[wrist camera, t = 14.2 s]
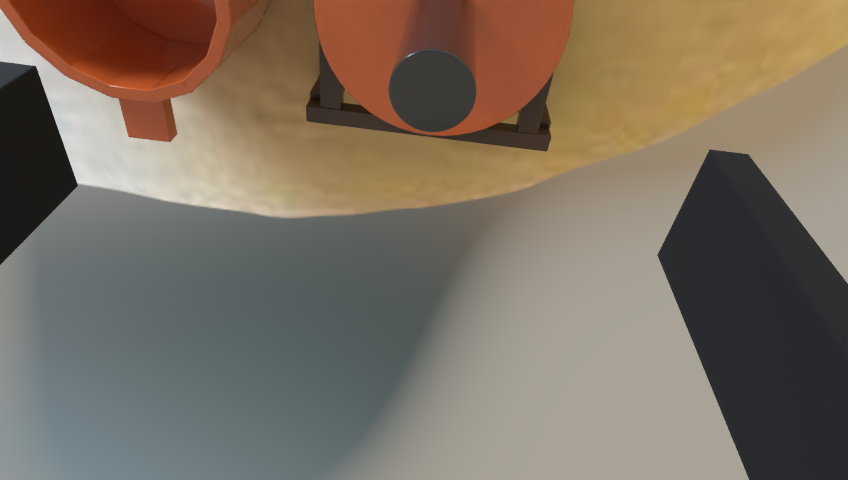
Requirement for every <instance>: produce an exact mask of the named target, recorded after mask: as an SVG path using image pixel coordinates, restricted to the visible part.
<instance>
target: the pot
mask: <svg viewBox="0 0 848 480" xmlns="http://www.w3.org/2000/svg"><path fill="white" fill-rule="evenodd" d="M268 3H269V0H0V9H1V10H2V11H3V13H4V14H5V15H6V17H7V18H8V20H9V21H10V22H11V24H12V25H13V26H14V28H15V29H16V31H17V32H18V33H19V35H20V36H21V38H22V39H23V40H24V41H25V43H27V44H28V45H29V46H30V47H31V48H33V49H34V50H35V51H36V52H37V53H39V54H40V55H41V56H42V57H43V58H45V59H46V60H47V61H48V62H49V63H51V64H52V65H53V66H54V67H55V68H57V69H58V70H59V71H60V72H61V73H63V74H64V75H65V76H67V77H69V78H71V79H73V80H75V81H77V82H80V83H82V84H84V85H86V86H88V87H90V88H92V89H95V90H97V91H99V92H101V93H103V94H105V95H107V96H110V97H112V98H119V102H120V106H121V109H122V113H123V117H124V121H125V125H126V129H127V133H128V136H129V137H134V138H142V139H150V140H158V141H166V142H171V141H172V140H173V138H174V137H175V136H176V135H177V130H176V125H175V120H174V115H173V109H172V104H171V99H170V98H174V97H177V96H181V95H184V94H188V93H191V92H193V91H194V90H195V89H196V88H197V87H198V86H199V85H200V84H201V83H202V82H203V81H204V80H205V79H206V78H207V77H208V76H209V75H210V74H211V73H213V72H214V71H215V70H216V69H217V68H218V67H219V66H220V65H221V64H222V62H223V61H224V60H225V59H226V58H227V57H228V56H229V55H230V54H231V53H232V52H233V51H234V50H235V49H236V48H237V47H238V46H239V45H240V43H241V42H242V41H243V40H244V39H245V38H246V37H247V36H248V35H249V34H250V33H251V32H252V31H253V30H254V29H255V28H256V27H257V26H258V24H259V23H260V22H261V19H262V16H263V15H264V13H265V10H266V8H267V6H268Z"/></svg>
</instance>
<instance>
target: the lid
mask: <svg viewBox="0 0 848 480" xmlns="http://www.w3.org/2000/svg"><path fill="white" fill-rule="evenodd" d="M314 12H315V22H316V27H317V32H318V37H319V40H320V43H321V46H322V49H323V52H324V55H325V57H326V59H327V61H328V63H329V65H330V67H331V69H332V71H333V72H334V74H335V75H336V77H337V78H338V80H339V82H340V83H341V84H342V85H343V87H344V88H345V89H346V90H347V92H348V93H349V94H350V95H351V96H352V97H353V98H354V99H355V100H356V101H357V102H358V103H359V104H360V105H361V106H363V107H364V108H365V109H367V110H368V111H369V112H371V113H372V114H373V115H375V116H377V117H378V118H380V119H382V120H383V121H385V122H387V123H389V124H392V125H394V126H396V127H398V128H401V129H405V130H408V131H411V132H415V133H420V134H426V135H437V136H450V135H461V134H466V133H472V132H475V131H479V130H482V129H485V128H488V127H490V126H493V125H495V124H497V123H499V122H501V121H503V120H505V119H506V118H508V117H510V116H512V115H513V114H515V113H516V112H517V111H519V110H520V109H521V108H523V107H524V106H525V105H526V104H527V103H528V102H529V101H530V100H532V99H533V98H534V97H535V96H536V95H537V94H538V92H539V91H540V90H541V89H542V88H543V86H544V85H545V84H546V83H547V81H548V80H549V78H550V77H551V75H552V73H553V72H554V70H555V69H556V67H557V65H558V63H559V61H560V59H561V56H562V54H563V52H564V49H565V46H566V43H567V40H568V37H569V33H570V27H571V22H572V15H573V0H314Z"/></svg>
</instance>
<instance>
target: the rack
mask: <svg viewBox="0 0 848 480" xmlns="http://www.w3.org/2000/svg"><path fill="white" fill-rule="evenodd" d="M319 51H320V75H319V77H318V79H317V81H316V83H315V84H314V86H313V88H312V90H311V92H310V100H309V102H308V104H307V106H306V117H307V121H308V122H316V123H324V124H332V125H340V126H348V127H356V128H364V129H372V130H380V131H388V132H396V133H404V134H412V135H420V136H428V137H436V138H444V139H452V140H460V141H468V142H476V143H484V144H492V145H500V146H508V147H516V148H524V149H532V150H540V151H547V150H548V147H549V143H550V140H551V134H550V130H549V128H550V124H551V121H550V117H549V114H548V110H547V106H546V100H547V96H548V92H549V88H550V84H551V80H552V77H553V73H554V72H553V73H552V75H551V77H550V78H549V80H548V81H547V83H546V84H545V85H544V86H543V88H542V89H541V90H540V91H539V92H538V94H537V95H536V96H535V97H534V98H533V99H532V100H530V101H529V102H528V103H527V104H526V105H525V106H524V107H523V108H521V109H520V110H519V111H518V114H519V115H518V119H517V124H516V125H514V124H506V123H497V124H495V125H493V126H490V127H488V128H485V129H482V130H479V131H475V132H472V133H466V134H461V135H450V136H437V135H426V134H420V133H415V132H411V131H408V130H405V129H401V128H398V127H396V126H394V125H392V124H389V123H387V122H385V121H383V120H382V119H380V118H378V117H377V116H375V115H373V114H372V113H371V112H369V111H368V110H367V109H365V108H364V107H363V106H361V105H355V104H347V103H343V97H344V91H345V88H344V87H343V85H342V84H341V83H340V82H339V80H338V78H337V77H336V75H335V74H334V72H333V71H332V69H331V67H330V65H329V63H328V61H327V59H326V57H325V55H324V52H323V49H322V46H321V43H320V40H319Z"/></svg>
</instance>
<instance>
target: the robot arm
mask: <svg viewBox="0 0 848 480" xmlns="http://www.w3.org/2000/svg"><path fill="white" fill-rule="evenodd" d="M77 186H78V185H77V182H76V179H75V176H74V173H73V170H72V167H71V165H70V162H69V159H68V156H67V153H66V150H65V148H64V145H63V142H62V139H61V136H60V133H59V131H58V128H57V125H56V122H55V119H54V116H53V114H52V111H51V108H50V105H49V102H48V99H47V96H46V94H45V91H44V88H43V85H42V82H41V79H40V77H39V74H38V71H37V68H36V66H30V65H22V64H14V63H6V62H0V264H1V263H3V261H4V260H5V259H6V258H7V257H8V256H9V255H10V254H11V253H12V252H13V251H14V250H15V249H16V248H17V247H18V246H19V245H20V244H21V243H22V242H23V241H24V240H25V239H26V238H27V237H28V236H29V235H30V234H31V233H32V232H33V231H34V230H35V229H36V228H37V227H38V226H39V225H40V223H42V222H43V220H45V219H46V218H47V217H48V216H49V215H50V213H52V211H53V210H54V209H55V208H56V207H57V206H58V205H59V204H60V203H61V202H62V201H63V200H64V199H65V198H66V197H67V196H68V195H69V194H70V193H71V192H72V191H73V190H74V189H75V188H76V187H77ZM658 257H659V260H660V262H661V265H662V267H663V270H664V272H665V275H666V277H667V279H668V282H669V284H670V287H671V289H672V292H673V294H674V297H675V299H676V301H677V304H678V306H679V309H680V311H681V314H682V316H683V319H684V321H685V323H686V326H687V328H688V331H689V333H690V336H691V338H692V340H693V343H694V345H695V348H696V350H697V353H698V355H699V358H700V360H701V363H702V365H703V368H704V370H705V372H706V375H707V377H708V380H709V382H710V384H711V387H712V389H713V392H714V394H715V397H716V399H717V402H718V404H719V407H720V409H721V412H722V414H723V417H724V419H725V421H726V424H727V426H728V429H729V431H730V434H731V436H732V439H733V441H734V443H735V446H736V448H737V451H738V453H739V456H740V458H741V461H742V463H743V465H744V468H745V470H746V473H747V475H748V478H749V480H848V284H847V283H846V281H845V280H844V279H843V277H842V276H841V275H840V273H839V272H838V271H837V269H836V268H835V267H834V266H833V264H832V263H831V262H830V260H829V259H828V258H827V257H826V255H825V254H824V253H823V251H822V250H821V249H820V247H819V246H818V245H817V243H816V242H815V241H814V239H813V238H812V237H811V236H810V234H809V233H808V232H807V230H806V229H805V228H804V227H803V225H802V224H801V223H800V221H799V220H798V219H797V217H796V216H795V215H794V213H793V212H792V211H791V210H790V208H789V207H788V206H787V204H786V203H785V202H784V200H783V199H782V198H781V197H780V195H779V194H778V193H777V191H776V190H775V189H774V187H773V186H772V185H771V184H770V182H769V181H768V180H767V178H766V177H765V176H764V175H763V173H762V172H761V171H760V170H759V168H758V167H757V165H756V164H755V163H754V161H753V160H752V159H751V158H750V156H749V155H748V154H741V153H733V152H725V151H716V150H709V152H708V154H707V156H706V158H705V160H704V163H703V164H702V166H701V168H700V170H699V172H698V174H697V177H696V179H695V180H694V182H693V184H692V187H691V189H690V191H689V193H688V195H687V197H686V199H685V201H684V203H683V205H682V207H681V209H680V211H679V213H678V215H677V217H676V219H675V221H674V223H673V225H672V227H671V229H670V231H669V233H668V235H667V237H666V239H665V241H664V243H663V245H662V247H661V249H660V251H659V253H658Z"/></svg>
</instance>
